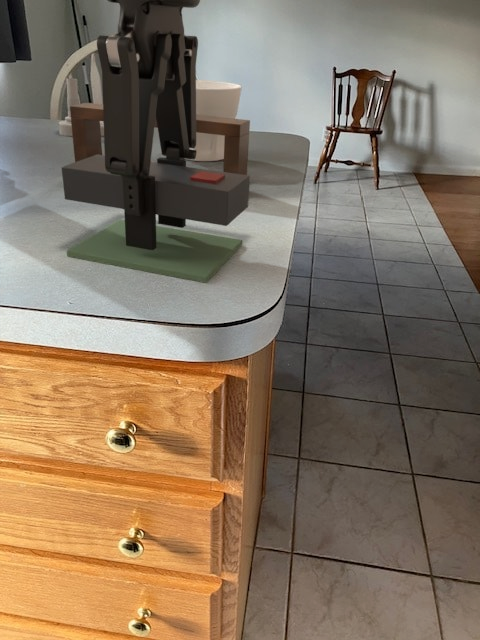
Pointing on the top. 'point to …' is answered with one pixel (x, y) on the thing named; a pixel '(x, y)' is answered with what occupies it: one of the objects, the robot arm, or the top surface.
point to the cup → (218, 103)
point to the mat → (160, 252)
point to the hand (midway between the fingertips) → (157, 234)
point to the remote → (163, 190)
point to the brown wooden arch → (91, 114)
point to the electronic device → (72, 99)
